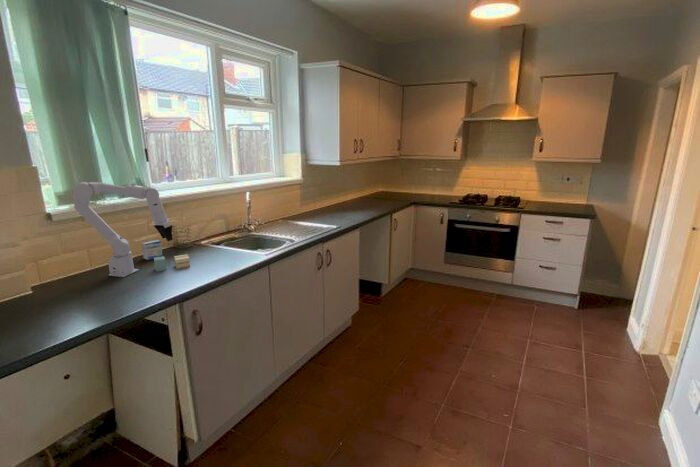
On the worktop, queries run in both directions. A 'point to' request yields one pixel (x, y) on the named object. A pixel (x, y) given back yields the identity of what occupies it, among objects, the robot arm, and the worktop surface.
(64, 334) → the worktop surface
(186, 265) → the lower slab
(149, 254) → the medicine box
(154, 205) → the robot arm
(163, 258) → the teal block
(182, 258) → the upper slab
